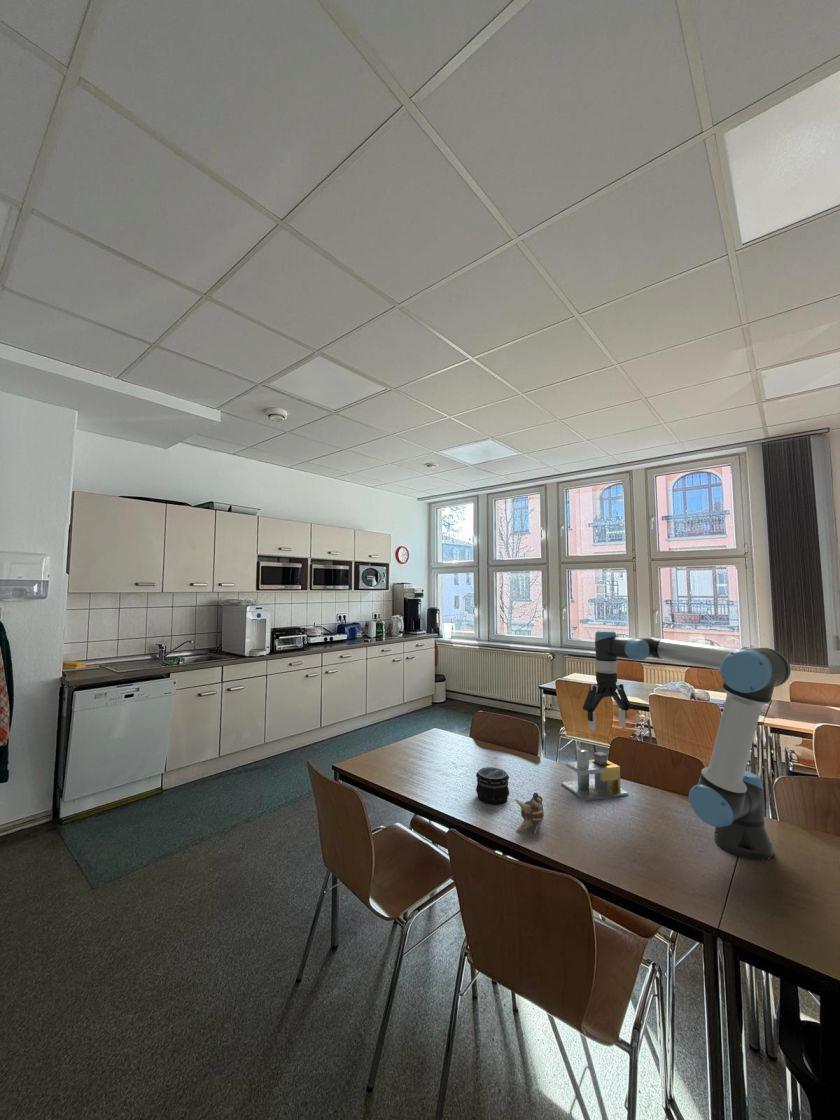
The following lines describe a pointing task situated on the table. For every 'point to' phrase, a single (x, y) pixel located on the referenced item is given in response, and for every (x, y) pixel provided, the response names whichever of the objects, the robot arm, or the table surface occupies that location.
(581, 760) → the grey frame
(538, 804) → the toy
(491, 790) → the container
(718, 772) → the robot arm
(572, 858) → the table surface
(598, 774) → the pin
